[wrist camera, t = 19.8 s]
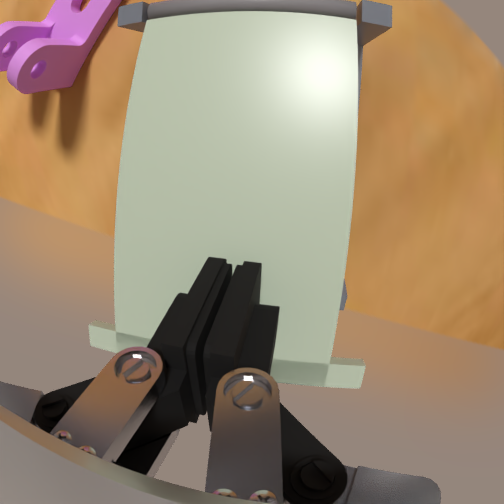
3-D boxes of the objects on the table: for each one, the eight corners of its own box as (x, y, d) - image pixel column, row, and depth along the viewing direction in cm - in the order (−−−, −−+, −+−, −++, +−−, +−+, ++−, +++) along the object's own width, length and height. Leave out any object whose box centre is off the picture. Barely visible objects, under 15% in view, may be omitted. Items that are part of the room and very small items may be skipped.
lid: (99, 339, 13) (87, 347, 12) (131, 15, 11) (122, 5, 10) (356, 378, 12) (361, 391, 11) (384, 16, 10) (390, 4, 9)
